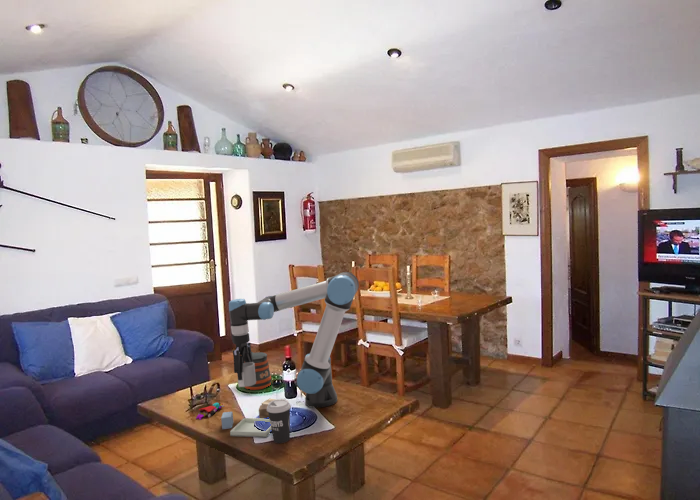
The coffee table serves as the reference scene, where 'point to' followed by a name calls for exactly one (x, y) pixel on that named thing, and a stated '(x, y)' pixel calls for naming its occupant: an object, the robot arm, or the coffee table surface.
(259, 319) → the robot arm
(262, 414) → the walnut block
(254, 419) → the tray
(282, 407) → the coffee cup
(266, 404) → the beech block
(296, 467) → the coffee table surface
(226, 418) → the blue painted block
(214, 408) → the toy
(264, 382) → the beer stein
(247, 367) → the cup
